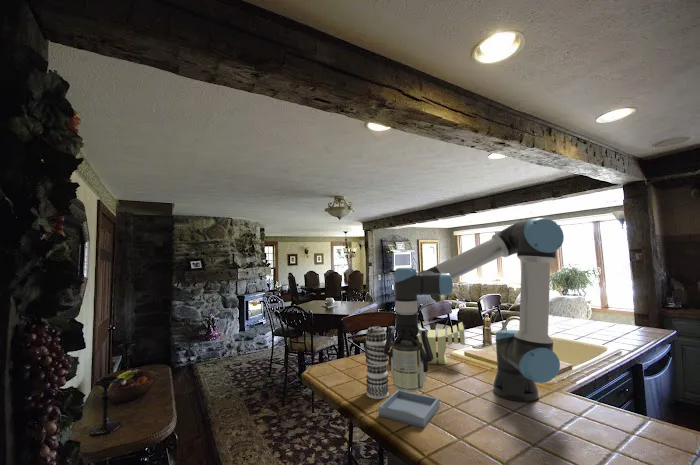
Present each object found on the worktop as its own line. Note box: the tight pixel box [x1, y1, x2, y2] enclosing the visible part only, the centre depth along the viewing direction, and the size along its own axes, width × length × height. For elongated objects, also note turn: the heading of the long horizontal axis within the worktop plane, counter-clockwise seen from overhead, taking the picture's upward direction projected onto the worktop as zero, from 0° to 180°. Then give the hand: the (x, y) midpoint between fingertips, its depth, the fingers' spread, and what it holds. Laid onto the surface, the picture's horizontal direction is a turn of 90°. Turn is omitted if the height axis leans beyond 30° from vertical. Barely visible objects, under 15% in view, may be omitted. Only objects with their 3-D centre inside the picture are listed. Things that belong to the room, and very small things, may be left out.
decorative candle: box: [364, 326, 390, 400], centre depth 126 cm, size 9×9×25 cm
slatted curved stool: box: [417, 321, 466, 365], centre depth 163 cm, size 30×16×18 cm, turn 74°
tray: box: [378, 389, 441, 429], centre depth 110 cm, size 16×16×3 cm
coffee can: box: [391, 340, 425, 393], centre depth 111 cm, size 10×10×14 cm
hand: (408, 378), depth 111 cm, fingers closed on coffee can, 10 cm apart
